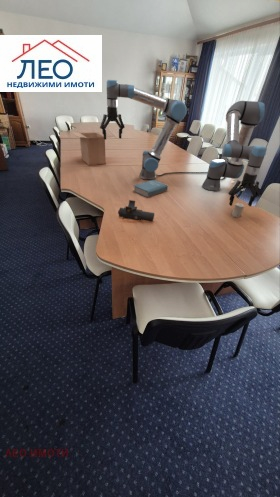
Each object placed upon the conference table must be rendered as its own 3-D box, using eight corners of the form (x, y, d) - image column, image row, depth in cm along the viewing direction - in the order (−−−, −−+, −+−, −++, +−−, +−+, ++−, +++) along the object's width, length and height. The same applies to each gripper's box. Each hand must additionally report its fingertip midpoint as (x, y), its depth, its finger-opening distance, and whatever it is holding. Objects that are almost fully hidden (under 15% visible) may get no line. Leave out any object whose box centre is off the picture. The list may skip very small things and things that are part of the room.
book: (152, 185, 190) (153, 179, 187) (167, 191, 181) (167, 185, 178) (133, 191, 176) (133, 185, 173) (147, 198, 167) (148, 191, 164)
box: (116, 165, 229) (116, 136, 213) (83, 168, 214) (80, 137, 198) (102, 154, 259) (101, 128, 243) (71, 156, 244) (68, 129, 228)
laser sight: (151, 225, 135) (153, 210, 129) (116, 219, 138) (116, 205, 132) (154, 218, 142) (155, 203, 137) (120, 212, 145) (120, 198, 139)
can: (230, 213, 155) (234, 202, 151) (238, 213, 155) (242, 203, 151) (233, 217, 151) (237, 206, 146) (241, 217, 151) (245, 206, 146)
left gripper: (99, 106, 151) (100, 140, 164) (129, 107, 164) (128, 138, 176) (94, 105, 156) (96, 138, 169) (124, 106, 168) (123, 136, 181)
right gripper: (234, 174, 131) (224, 207, 144) (273, 176, 134) (260, 208, 146) (229, 170, 137) (220, 202, 150) (266, 172, 140) (254, 203, 152)
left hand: (112, 138), depth 173 cm, fingers open, 13 cm apart
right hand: (239, 205), depth 148 cm, fingers open, 13 cm apart
